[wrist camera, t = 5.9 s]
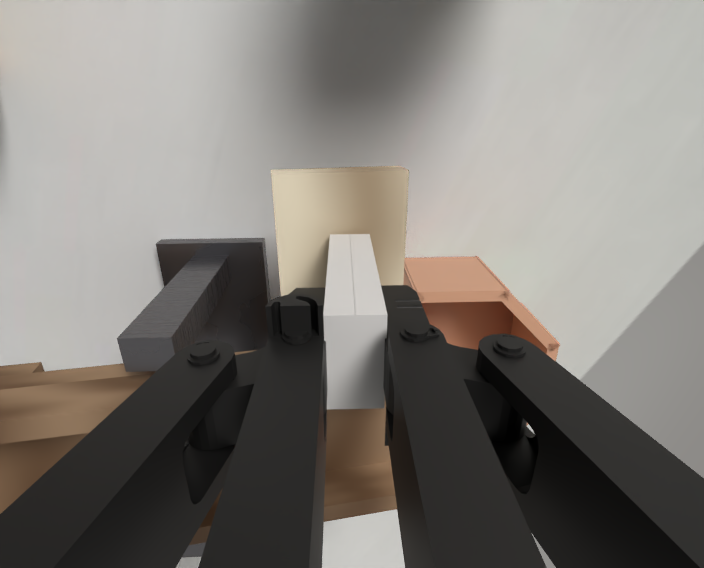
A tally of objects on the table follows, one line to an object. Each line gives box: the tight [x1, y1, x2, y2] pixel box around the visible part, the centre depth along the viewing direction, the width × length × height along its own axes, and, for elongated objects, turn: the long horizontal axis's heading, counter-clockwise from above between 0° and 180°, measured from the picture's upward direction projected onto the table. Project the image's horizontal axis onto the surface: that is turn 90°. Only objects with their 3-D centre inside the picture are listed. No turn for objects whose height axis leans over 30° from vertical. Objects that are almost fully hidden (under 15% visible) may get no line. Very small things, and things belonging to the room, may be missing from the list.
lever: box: [0, 166, 409, 545], centre depth 18 cm, size 20×16×6 cm
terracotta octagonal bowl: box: [403, 256, 560, 426], centre depth 25 cm, size 11×11×5 cm
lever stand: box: [117, 238, 270, 557], centre depth 23 cm, size 6×14×10 cm, turn 0°
